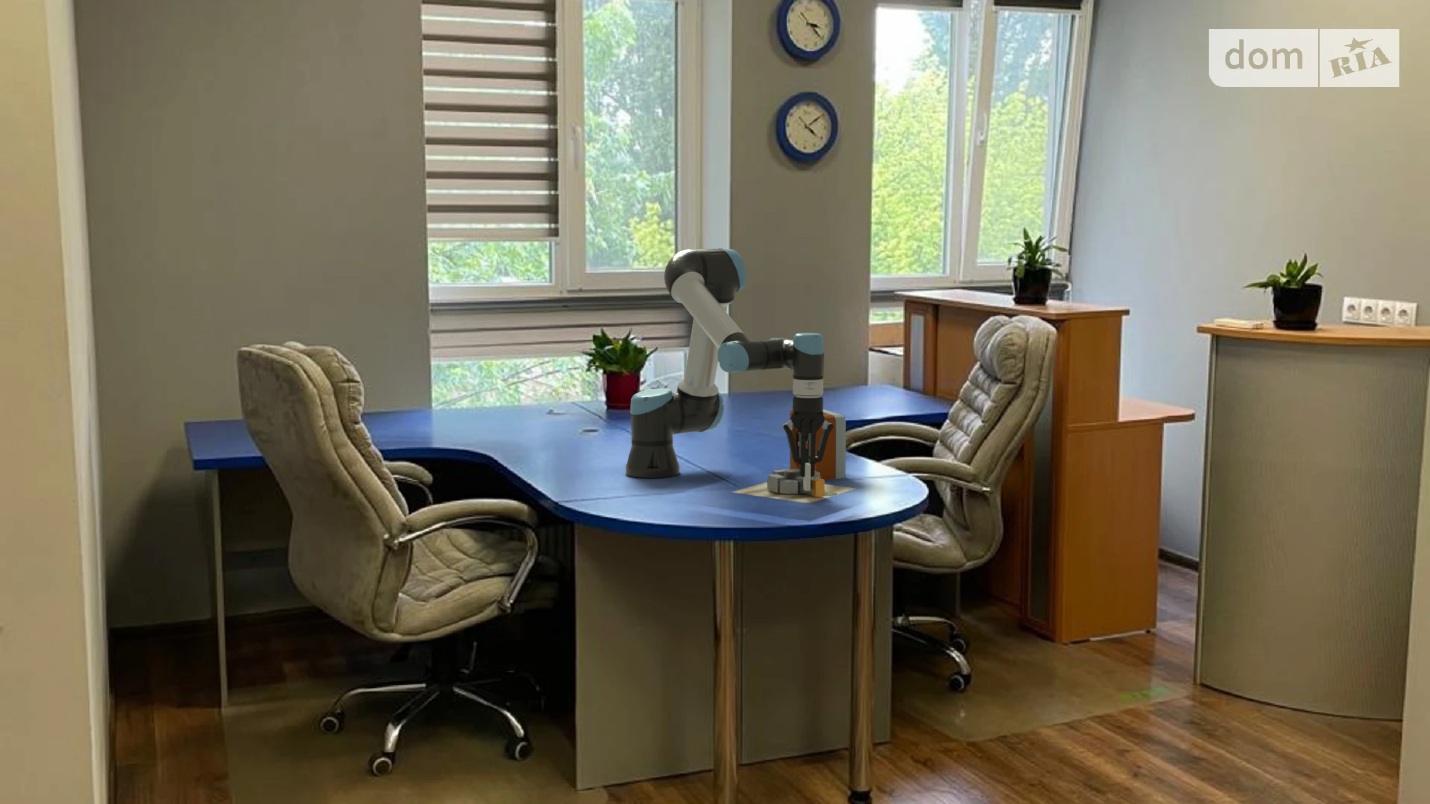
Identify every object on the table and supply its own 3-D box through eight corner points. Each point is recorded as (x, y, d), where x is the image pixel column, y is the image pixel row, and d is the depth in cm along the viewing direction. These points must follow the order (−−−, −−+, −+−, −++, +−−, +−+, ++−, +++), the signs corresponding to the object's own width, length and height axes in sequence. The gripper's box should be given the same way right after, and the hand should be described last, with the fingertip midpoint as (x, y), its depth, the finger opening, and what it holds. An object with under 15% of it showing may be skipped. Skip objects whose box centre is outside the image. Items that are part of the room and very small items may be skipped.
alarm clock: (788, 474, 375) (788, 400, 372) (817, 471, 378) (817, 399, 375) (817, 486, 358) (816, 409, 355) (846, 483, 361) (846, 407, 358)
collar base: (730, 497, 343) (730, 472, 343) (780, 483, 361) (780, 460, 360) (809, 509, 329) (809, 483, 328) (856, 494, 346) (856, 469, 345)
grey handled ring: (758, 487, 347) (758, 471, 346) (800, 481, 353) (800, 466, 353) (798, 499, 331) (798, 483, 331) (841, 493, 338) (841, 477, 337)
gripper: (785, 398, 328) (783, 493, 331) (836, 397, 329) (835, 492, 332) (779, 394, 335) (778, 487, 338) (830, 393, 337) (828, 486, 340)
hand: (806, 489), depth 335 cm, fingers closed
